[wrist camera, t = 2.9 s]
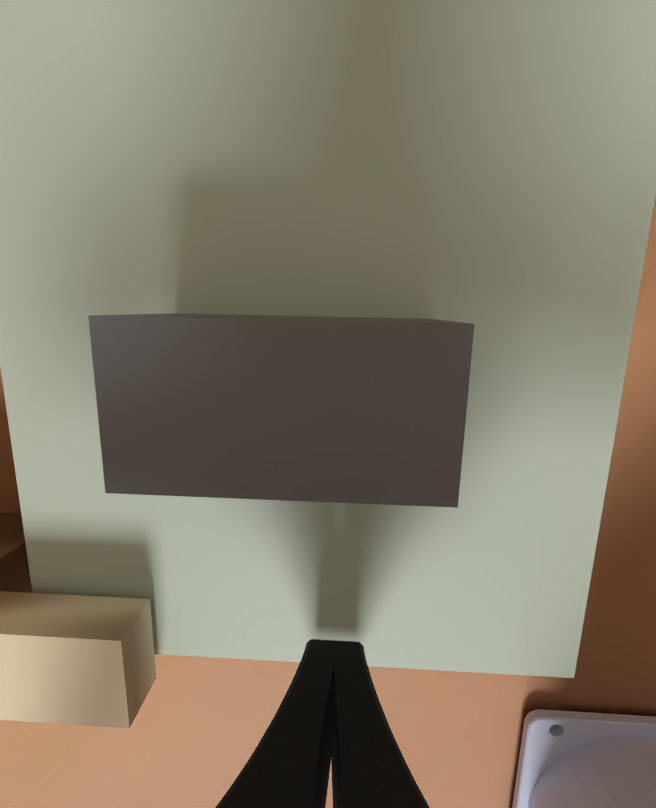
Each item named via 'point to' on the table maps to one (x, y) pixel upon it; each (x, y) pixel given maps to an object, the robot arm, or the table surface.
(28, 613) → the beige rectangular bar
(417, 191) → the lid
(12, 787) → the table surface
